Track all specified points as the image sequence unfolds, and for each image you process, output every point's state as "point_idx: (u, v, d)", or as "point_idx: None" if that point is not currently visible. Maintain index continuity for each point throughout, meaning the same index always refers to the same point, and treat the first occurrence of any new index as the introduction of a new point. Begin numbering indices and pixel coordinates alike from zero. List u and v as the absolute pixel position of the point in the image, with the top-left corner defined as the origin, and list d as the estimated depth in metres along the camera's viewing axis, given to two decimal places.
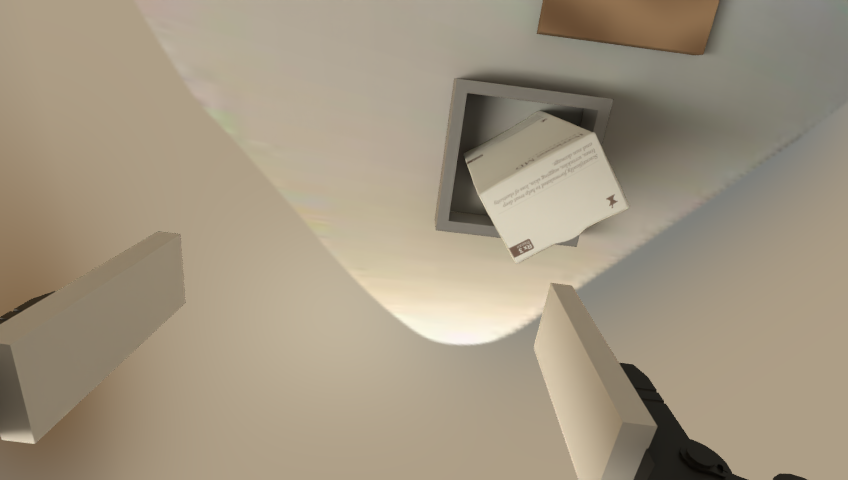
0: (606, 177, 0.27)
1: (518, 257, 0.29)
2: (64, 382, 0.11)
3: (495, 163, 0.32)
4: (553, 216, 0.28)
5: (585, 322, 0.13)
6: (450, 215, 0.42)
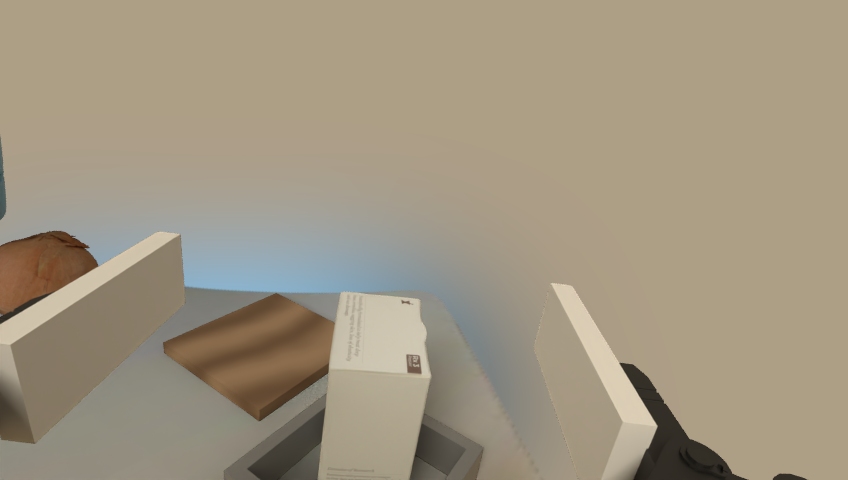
0: (383, 298, 0.30)
1: (423, 370, 0.24)
2: (64, 382, 0.11)
3: None
4: (394, 331, 0.27)
5: (585, 322, 0.13)
6: None
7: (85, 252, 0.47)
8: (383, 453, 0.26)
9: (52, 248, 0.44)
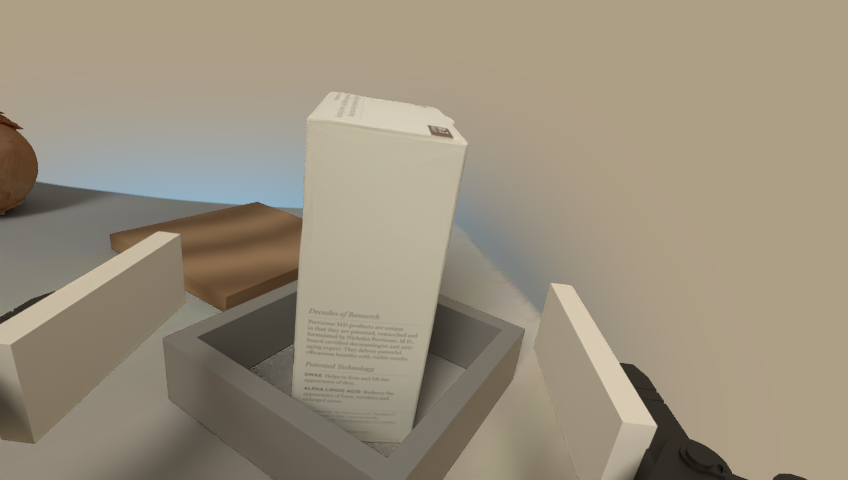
0: (389, 101, 0.22)
1: (455, 136, 0.16)
2: (64, 382, 0.11)
3: None
4: (407, 113, 0.18)
5: (585, 322, 0.13)
6: None
7: (16, 133, 0.38)
8: (393, 285, 0.17)
9: None
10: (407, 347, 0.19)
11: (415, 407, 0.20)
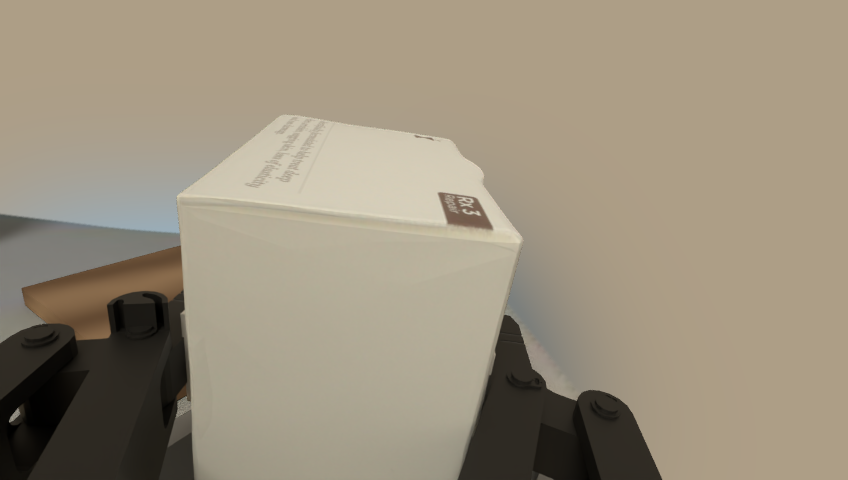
0: (374, 129, 0.14)
1: (496, 224, 0.08)
2: None
3: None
4: (400, 159, 0.10)
5: None
6: None
7: None
8: None
9: None
10: None
11: None
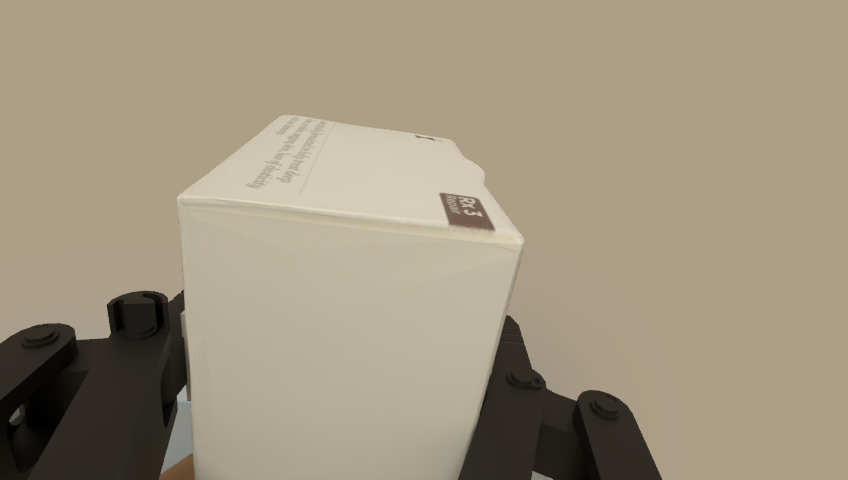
0: (375, 129, 0.14)
1: (498, 224, 0.08)
2: None
3: None
4: (401, 160, 0.10)
5: None
6: None
7: None
8: None
9: None
10: None
11: None
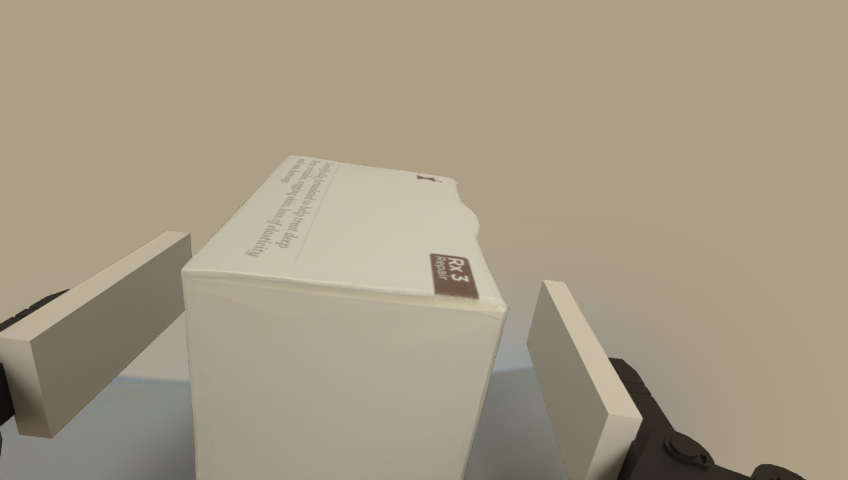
0: (378, 170, 0.14)
1: (482, 291, 0.08)
2: (79, 378, 0.11)
3: None
4: (398, 212, 0.11)
5: (575, 317, 0.13)
6: None
7: None
8: None
9: None
10: None
11: None
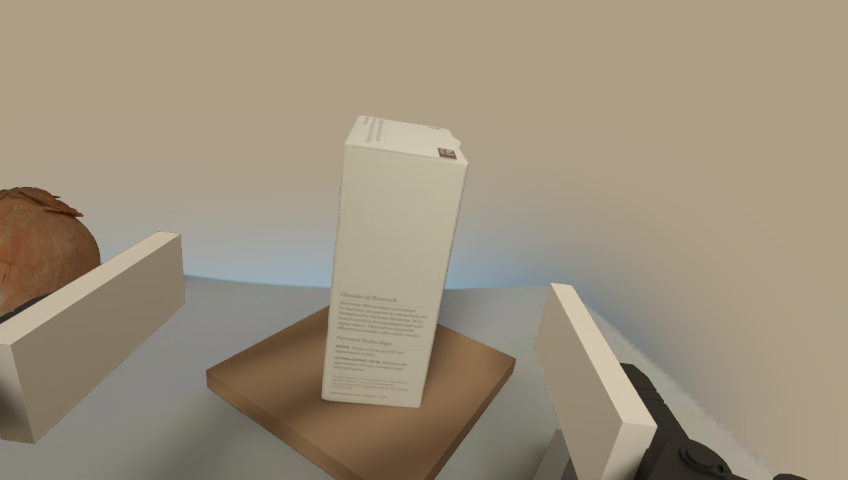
0: (408, 123, 0.26)
1: (458, 158, 0.20)
2: (64, 382, 0.11)
3: None
4: (422, 136, 0.23)
5: (585, 322, 0.13)
6: None
7: (76, 223, 0.29)
8: (408, 274, 0.22)
9: (21, 213, 0.26)
10: (418, 326, 0.23)
11: (424, 377, 0.24)
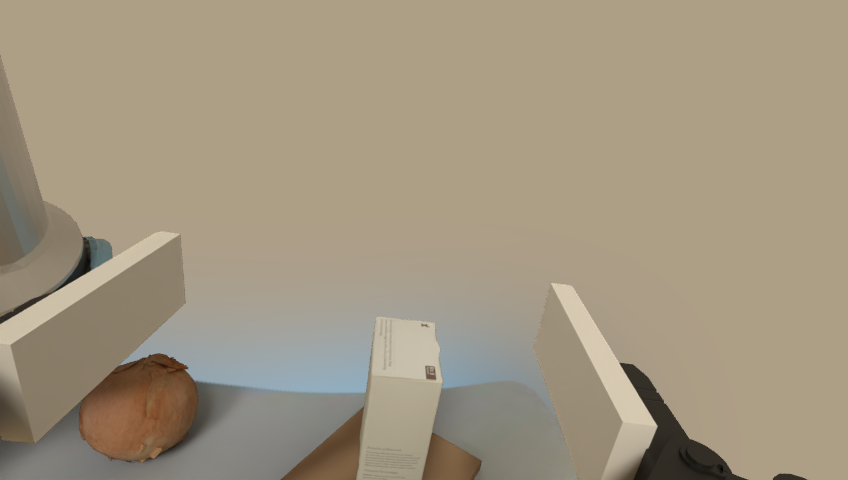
0: (407, 322, 0.40)
1: (437, 377, 0.34)
2: (64, 382, 0.11)
3: (365, 405, 0.37)
4: (416, 348, 0.37)
5: (585, 322, 0.13)
6: None
7: (185, 375, 0.43)
8: (408, 437, 0.36)
9: (157, 379, 0.41)
10: (414, 463, 0.37)
11: None
